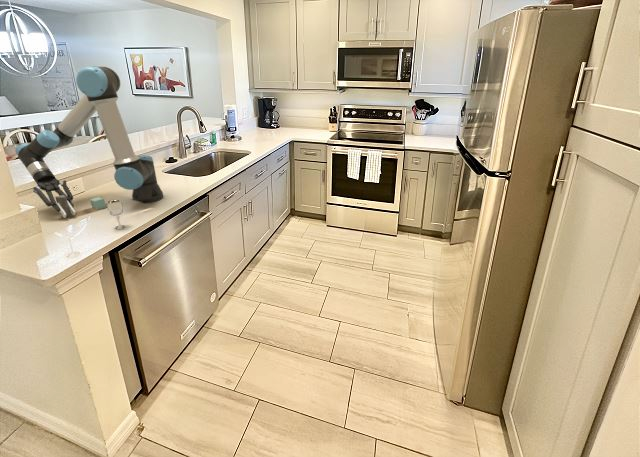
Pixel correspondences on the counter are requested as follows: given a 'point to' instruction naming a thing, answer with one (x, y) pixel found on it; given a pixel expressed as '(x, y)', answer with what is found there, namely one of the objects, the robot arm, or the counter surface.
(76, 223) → the counter surface
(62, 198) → the mallet
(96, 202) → the cube
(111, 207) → the wineglass
